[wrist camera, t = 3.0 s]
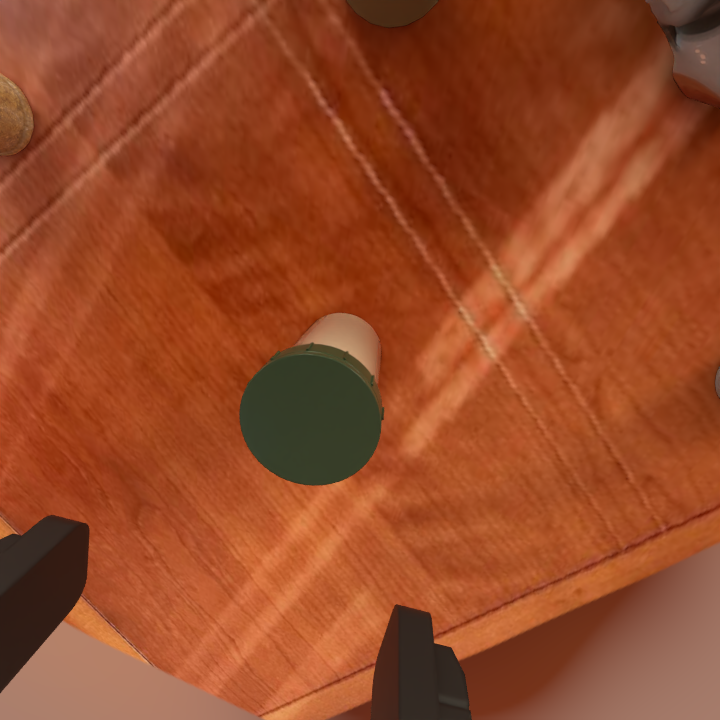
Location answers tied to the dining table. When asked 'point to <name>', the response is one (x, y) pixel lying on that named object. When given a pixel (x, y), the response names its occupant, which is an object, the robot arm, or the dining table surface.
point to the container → (717, 382)
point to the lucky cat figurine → (693, 45)
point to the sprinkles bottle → (14, 118)
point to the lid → (312, 414)
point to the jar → (347, 338)
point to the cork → (391, 11)
